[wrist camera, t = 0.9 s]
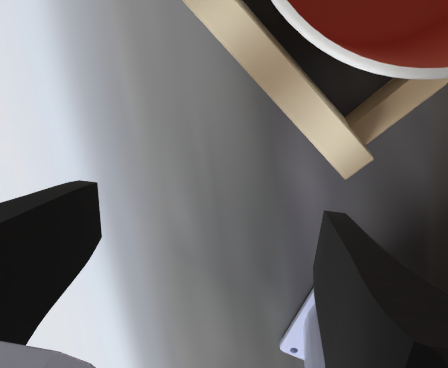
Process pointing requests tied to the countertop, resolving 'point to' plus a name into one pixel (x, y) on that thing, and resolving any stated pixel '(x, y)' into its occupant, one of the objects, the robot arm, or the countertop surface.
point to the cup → (377, 33)
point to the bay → (310, 87)
